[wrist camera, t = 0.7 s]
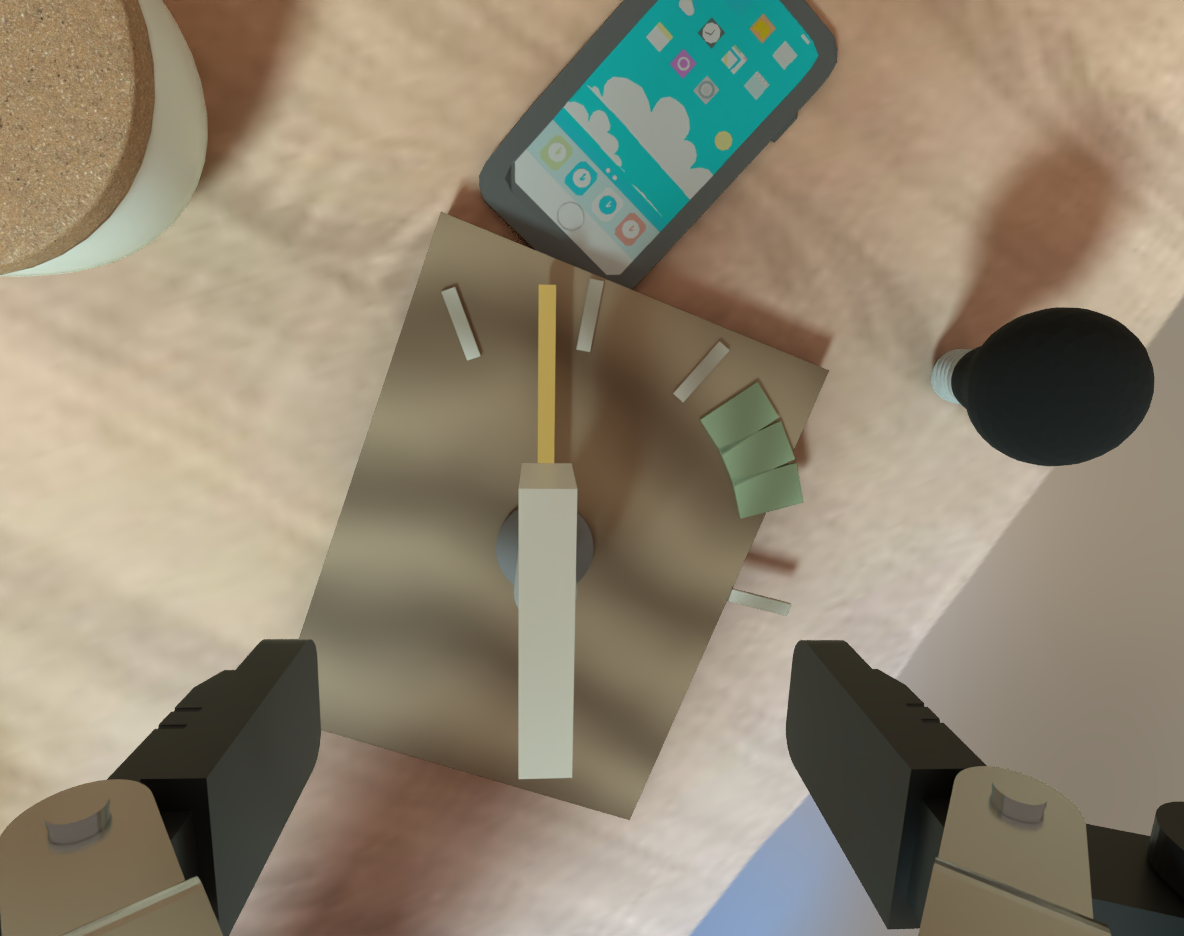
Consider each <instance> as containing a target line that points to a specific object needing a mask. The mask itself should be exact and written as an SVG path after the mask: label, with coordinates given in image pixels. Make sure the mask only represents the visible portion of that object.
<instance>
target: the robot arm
mask: <svg viewBox="0 0 1184 936" xmlns="http://www.w3.org/2000/svg"><path fill="white" fill-rule="evenodd" d="M320 737H321V720H320V700H319V680H318V660H317V650H316V645H315V643H314V641H313V640H311V639H264V640H262V641H261V642H260V643H259V644H258V645H257V646H256V647H255V648H254V649H253V651H252V652H251V653H250V654H249V655H248V656H247V657H246V659H245V660H244V661H243V662H242V663H241V664H240V665H239V667H238V668H237V669H236V670H224V671H222V672H220V673H219V674H217V675H215V676H213V677H212V678H210V679H208V680H206V681H205V682H203V683H201V684H199V685H198V686H196V687H194V688H193V689H192V690H191V691H190V692H189V693H188V695H187V696H186V697H185V698H184V699H183V700H182V701H181V702H180V703H179V704H178V705H177V706H176V707H175V711H174V712H170V714H169V715H168V716H167V717H166V718H165V719H164V720H163V721H162V722H161V723H160V724H159V728H158V729H154V730H153V731H152V733H151V734H150V735H149V736H148V737H147V738H146V739H145V740H144V741H143V742H142V743H141V744H140V745H139V746H138V747H137V748H136V749H135V750H134V752H133V753H132V754H131V755H130V756H129V757H128V758H127V759H126V760H125V761H124V762H123V763H122V764H121V765H120V766H119V767H118V768H117V769H116V771H115V772H114V773H113V774H112V775H111V776H110V777H109V778H108V779H107V780H102V781H96V782H91V783H86V784H83V785H79V786H76V787H72V788H70V789H67V790H64V791H61V792H59V793H57V794H54V795H52V796H50V797H48V798H46V799H44V800H42V801H40V802H39V803H37V804H35V805H33V806H32V807H30V808H29V809H27V810H26V811H24V812H23V813H22V814H20V815H19V816H18V817H17V818H15V819H14V820H13V821H12V822H11V823H10V824H9V825H8V826H7V827H6V829H5V830H4V832H3V833H2V834H1V836H0V936H229V934H230V932H231V930H232V928H233V926H234V924H235V922H236V920H237V919H238V917H239V915H240V913H241V911H242V909H243V907H244V905H245V903H246V901H247V899H248V897H249V895H250V893H251V891H252V889H253V887H254V885H255V883H256V881H257V879H258V877H259V875H260V873H261V871H262V869H263V867H264V865H265V863H266V861H267V859H268V857H269V855H270V853H271V852H272V850H273V848H274V846H275V844H276V842H277V840H278V838H279V836H280V834H281V832H282V830H283V828H284V826H285V824H286V822H287V820H288V818H289V816H290V814H291V812H292V810H293V808H294V806H295V804H296V802H297V800H298V798H299V796H300V794H301V792H302V790H303V788H304V787H305V785H306V783H307V781H308V779H309V777H310V775H311V773H312V771H313V768H314V766H315V763H316V760H317V756H318V752H319V746H320ZM786 738H787V745H788V750H789V754H790V757H791V760H792V762H793V764H794V766H795V768H796V770H797V771H798V773H799V775H800V777H801V778H802V780H803V782H804V784H805V785H806V787H807V789H808V791H809V792H810V794H811V796H812V797H813V799H814V801H815V803H816V805H817V806H818V808H819V810H820V812H821V813H822V815H823V817H824V819H825V820H826V822H827V824H828V826H829V827H830V829H831V831H832V833H833V834H834V836H835V838H836V840H837V841H838V843H839V845H840V847H841V848H842V850H843V852H844V854H845V855H846V857H847V859H848V861H849V862H850V864H851V866H852V868H853V869H854V871H855V873H856V875H857V876H858V878H859V880H860V882H861V883H862V885H863V887H864V888H865V890H866V892H867V894H868V896H869V897H870V899H871V901H872V903H873V904H874V906H875V908H876V909H877V911H878V913H879V915H880V916H881V918H882V920H883V922H884V923H885V925H886V927H887V929H913V928H920V930H919V935H918V936H1184V802H1170V803H1166V804H1163V805H1161V806H1160V807H1159V808H1158V809H1157V811H1156V815H1155V820H1154V824H1153V828H1152V833H1151V836H1146V835H1141V834H1136V833H1130V832H1125V831H1120V830H1115V829H1110V828H1104V827H1099V826H1094V825H1090V824H1086V823H1085V819H1084V817H1083V815H1082V813H1081V812H1080V810H1079V809H1078V808H1077V807H1076V805H1075V804H1074V803H1073V802H1071V801H1070V800H1069V799H1068V798H1067V797H1066V796H1064V795H1063V794H1062V793H1061V792H1059V791H1057V790H1056V789H1054V788H1053V787H1051V786H1049V785H1047V784H1046V783H1044V782H1042V781H1040V780H1038V779H1035V778H1033V777H1031V776H1028V775H1025V774H1022V773H1020V772H1016V771H1012V770H1009V769H1004V768H999V767H991V766H986V765H985V764H984V763H983V762H982V761H981V760H980V759H979V758H978V757H977V756H976V755H975V754H974V753H973V752H972V751H971V750H970V749H969V748H968V747H967V746H966V745H965V744H964V743H963V742H962V741H961V740H960V739H959V738H958V737H957V736H956V735H955V734H954V733H953V732H952V731H951V730H950V729H949V728H948V727H947V726H946V725H945V724H944V723H940V720H939V718H938V717H937V716H936V715H935V714H934V713H933V712H932V711H931V710H930V709H929V708H928V707H924V703H923V702H922V701H921V700H920V699H919V698H918V697H917V696H916V695H915V694H914V693H913V692H912V691H911V690H910V689H909V688H908V687H907V686H906V685H905V684H903V683H901V682H899V681H898V680H896V679H894V678H892V677H891V676H889V675H887V674H885V673H883V672H882V671H880V670H878V669H872V668H871V667H870V666H869V665H868V664H867V663H866V662H865V661H864V660H863V659H862V658H861V657H860V656H859V655H858V654H857V653H856V652H855V650H854V649H853V648H852V647H851V646H850V645H849V644H848V643H847V642H845V641H843V640H801V641H799V642H798V643H797V644H796V646H795V649H794V653H793V661H792V671H791V681H790V690H789V700H788V710H787V720H786Z"/></svg>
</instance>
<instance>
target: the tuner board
mask: <svg viewBox="0 0 1184 936" xmlns="http://www.w3.org/2000/svg"><path fill="white" fill-rule="evenodd" d="M539 285H556V344H555V436H554V463H572V467H573V472H574V476H575V481H576V485H577V537H576V583H577V592H578V593H577V600H576V603H575V649H574V705H573V760H572V778H547V779H518V678H519V609H518V607H517V605H516V602H515V599H514V586H515V576H516V566H517V556H518V547H519V482H520V474H521V467H522V463H538V318H539ZM828 372H829V370H827V369H824V368H822V367H819V366H817V365H814V364H812V363H809V362H807V361H805V360H802V359H800V358H797V357H795V356H792V355H790V354H787V353H785V352H783V351H780V350H778V349H775V348H773V347H770V346H768V345H765V344H763V343H761V342H758V341H756V340H753V339H751V338H748V337H746V336H743V335H741V334H739V333H736V332H734V331H731V330H729V329H726V328H724V327H722V326H719V325H717V324H714V323H712V322H709V321H707V320H704V319H702V318H700V317H697V316H695V315H692V314H690V313H687V312H685V311H682V310H680V309H678V308H675V307H673V306H670V305H668V304H665V303H663V302H660V301H658V300H656V299H653V298H651V297H648V296H646V295H643V294H641V293H638V292H636V291H634V290H631V289H629V288H626V287H624V286H621V285H619V284H616V283H614V282H612V281H609V280H607V279H604V278H602V277H599V276H597V275H594V274H592V273H590V272H587V271H585V270H582V269H580V268H577V267H575V266H572V265H570V264H568V263H565V262H563V261H560V260H558V259H555V258H553V257H550V256H548V255H546V254H543V253H541V252H538V251H536V250H533V249H531V248H528V247H526V246H524V245H521V244H519V243H516V242H514V241H511V240H509V239H507V238H504V237H502V236H499V235H497V234H494V233H492V232H489V231H487V230H485V229H482V228H480V227H477V226H475V225H472V224H470V223H467V222H465V221H463V220H460V219H458V218H455V217H453V216H450V215H448V214H445V213H443V212H441V213H440V216H439V219H438V222H437V225H436V228H435V231H434V234H433V237H432V240H431V243H430V246H429V249H428V252H427V255H426V258H425V261H424V264H423V267H422V270H421V273H420V276H419V279H418V282H417V285H416V288H415V291H414V294H413V297H412V300H411V303H410V306H409V310H408V313H407V316H406V319H405V322H404V325H403V328H402V331H401V334H400V337H399V340H398V343H397V346H396V349H395V352H394V355H393V358H392V361H391V364H390V367H389V370H388V373H387V376H386V379H385V382H384V385H383V388H382V391H381V394H380V397H379V400H378V403H377V406H376V409H375V412H374V415H373V418H372V421H371V424H370V427H369V430H368V433H367V436H366V439H365V442H364V445H363V448H362V451H361V454H360V457H359V460H358V463H357V466H356V469H355V472H354V475H353V478H352V481H351V484H350V487H349V490H348V493H347V496H346V499H345V502H344V505H343V508H342V511H341V514H340V517H339V520H338V523H337V526H336V529H335V532H334V535H333V538H332V541H331V544H330V547H329V550H328V553H327V556H326V559H325V562H324V565H323V568H322V571H321V574H320V577H319V580H318V583H317V586H316V589H315V592H314V595H313V598H312V601H311V604H310V607H309V610H308V613H307V616H306V619H305V622H304V625H303V628H302V631H301V634H300V637H299V639H311V640H313V641H314V643H315V645H316V650H317V660H318V680H319V700H320V720H321V730H323V731H327V732H330V733H334V734H337V735H340V736H344V737H347V738H351V739H354V740H358V741H361V742H364V743H368V744H371V745H375V746H378V747H382V748H385V749H388V750H392V751H395V752H399V753H402V754H405V755H409V756H412V757H416V758H419V759H423V760H426V761H429V762H433V763H436V764H440V765H443V766H446V767H450V768H453V769H457V770H460V771H464V772H467V773H470V774H474V775H477V776H481V777H484V778H487V779H491V780H494V781H498V782H501V783H505V784H508V785H511V786H515V787H518V788H522V789H525V790H528V791H532V792H535V793H539V794H542V795H546V796H549V797H552V798H556V799H559V800H563V801H566V802H569V803H573V804H576V805H580V806H583V807H587V808H590V809H593V810H597V811H600V812H604V813H607V814H611V815H614V816H617V817H621V818H624V819H628V820H630V818H631V816H632V813H633V811H634V809H635V807H636V804H637V802H638V800H639V798H640V795H641V793H642V791H643V789H644V786H645V784H646V782H647V780H648V777H649V775H650V773H651V771H652V768H653V766H654V764H655V762H656V759H657V757H658V755H659V753H660V750H661V748H662V746H663V744H664V741H665V739H666V737H667V735H668V732H669V730H670V728H671V726H672V723H673V721H674V719H675V717H676V714H677V712H678V710H679V707H680V705H681V703H682V701H683V698H684V696H685V694H686V692H687V689H688V687H689V685H690V683H691V680H692V678H693V676H694V674H695V671H696V669H697V667H698V665H699V662H700V660H701V658H702V656H703V653H704V651H705V649H706V647H707V644H708V642H709V640H710V638H711V635H712V633H713V631H714V629H715V626H716V624H717V622H718V620H719V617H720V615H721V613H722V611H723V608H724V606H725V604H726V602H727V600H728V601H729V602H733V603H737V604H741V605H745V606H749V607H753V608H757V609H761V610H765V611H769V612H773V613H777V614H781V615H785V616H787V615H788V613H789V610H790V607H791V604H790V603H788V602H784V601H780V600H776V599H772V598H768V597H764V596H761V595H757V594H753V593H749V592H745V591H741V590H737V589H733V586H734V584H735V581H736V579H737V577H738V575H739V572H740V570H741V568H742V566H743V563H744V561H745V559H746V557H747V554H748V552H749V550H750V548H751V545H752V543H753V541H754V539H755V536H756V534H757V532H758V530H759V527H760V525H761V523H762V521H763V518H764V516H765V514H766V512H769V511H772V510H776V509H780V508H784V507H788V506H792V505H796V504H800V503H803V496H802V491H801V485H800V480H799V475H798V469H797V464H796V463H795V462H794V463H790V464H788V462H790V461H792V460H794V459H795V457H794V455H793V451H794V449H795V446H796V444H797V442H798V440H799V437H800V435H801V433H802V431H803V428H804V426H805V424H806V421H807V419H808V417H809V415H810V412H811V410H812V408H813V406H814V403H815V401H816V399H817V397H818V394H819V392H820V390H821V388H822V385H823V383H824V381H825V379H826V376H827V374H828Z"/></svg>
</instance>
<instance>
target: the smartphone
mask: <svg viewBox="0 0 1184 936" xmlns="http://www.w3.org/2000/svg"><path fill="white" fill-rule="evenodd" d="M836 63H837V47H836V42H835V38H834V35H833V34H832V33H831V32H830V30H829V29H828V28H827V27H826V26H825V24H824V23H823V22H822V21H821V20H820V18H819V17H818V16H817V15H816V13H815V12H814V11H813V10H812V9H811V7H810V6H809V5H808V4H807V3H806V1H805V0H624V1H623V2H622V3H621V4H620V6H619V7H618V8H617V9H616V10H615V11H614V12H613V14H612V15H611V16H610V17H609V18H608V19H607V20H606V22H605V23H604V24H603V25H602V26H601V27H600V28H599V30H598V31H597V32H596V33H595V34H594V35H593V36H592V38H591V39H590V40H589V41H588V42H587V43H586V44H585V45H584V47H583V48H582V49H581V50H580V51H579V52H578V53H577V55H576V56H575V57H574V58H573V59H572V60H571V61H570V63H569V64H568V65H567V66H566V67H565V68H564V69H563V71H562V72H561V73H560V74H559V75H558V76H557V77H556V79H555V80H554V81H553V82H552V83H551V84H550V85H549V87H548V88H547V89H546V90H545V91H544V92H543V93H542V95H541V96H540V97H539V98H538V99H537V100H536V101H535V103H534V104H533V105H532V106H531V107H530V108H529V109H528V111H527V112H526V113H525V114H524V115H523V117H522V118H521V119H520V120H519V122H518V123H517V124H516V125H515V126H514V128H513V129H512V130H511V131H510V133H509V134H508V135H507V136H506V138H505V139H504V140H503V141H502V143H501V144H500V145H499V146H498V148H497V149H496V150H495V151H494V153H493V154H492V155H491V157H490V158H489V159H488V160H487V162H486V163H485V165H484V167H483V169H482V171H481V173H480V175H479V179H480V190H481V193H482V196H483V199H484V201H485V202H486V203H487V204H488V205H489V206H490V207H491V208H492V209H493V210H494V211H495V212H496V213H497V214H498V215H499V216H500V217H501V218H502V219H503V220H504V221H505V222H506V223H507V224H508V225H509V226H510V227H511V228H512V229H513V230H514V231H515V232H516V233H518V234H519V235H520V236H521V237H522V238H523V239H524V240H525V241H526V242H527V243H528V244H529V245H530V246H531V247H532V248H533V249H534V250H536V251H538V252H541V253H543V254H546V255H548V256H550V257H553V258H555V259H558V260H560V261H563V262H565V263H568V264H570V265H572V266H575V267H577V268H580V269H582V270H585V271H587V272H590V273H592V274H594V275H597V276H599V277H602V278H604V279H607V280H609V281H612V282H614V283H616V284H619V285H621V286H624V287H626V288H629V289H631V290H632V289H633V288H634V287H635V286H636V285H637V284H638V283H639V282H640V281H641V280H642V279H643V278H644V277H645V275H646V274H647V273H648V272H649V271H650V270H651V269H652V268H653V267H654V266H655V265H656V264H657V263H658V261H659V260H660V259H661V258H662V257H663V256H664V255H665V254H666V253H667V252H668V251H669V250H670V249H671V247H672V246H673V245H674V244H675V243H676V242H677V241H678V240H679V239H680V238H681V237H682V236H683V235H684V233H685V232H686V231H687V230H688V229H689V228H690V227H691V226H692V225H693V224H694V223H695V222H696V220H697V219H698V218H699V217H700V216H701V215H702V214H703V213H704V212H705V211H706V210H707V209H708V208H709V206H710V205H711V204H712V203H713V202H714V201H715V200H716V199H717V198H718V197H719V196H720V195H721V194H722V192H723V191H724V190H725V189H726V188H727V187H728V186H729V185H730V184H731V183H732V182H733V181H734V180H735V178H736V177H737V176H738V175H739V174H740V173H741V172H742V171H743V170H744V169H745V168H746V167H747V165H748V164H749V163H750V162H751V161H752V160H753V159H754V158H755V157H756V156H757V155H758V154H759V153H760V151H761V150H762V149H763V148H764V147H765V146H766V145H767V144H768V143H769V142H770V141H771V140H772V141H773V142H774V143H775V141H776V140H777V139H778V138H779V137H780V136H781V135H782V134H783V133H784V132H785V131H786V130H787V129H788V127H789V126H790V125H791V124H792V123H793V122H794V121H795V120H796V119H797V115H796V113H797V112H798V111H799V109H800V108H801V107H802V106H803V105H804V104H805V103H806V102H807V101H808V100H809V99H810V98H811V96H812V95H813V94H814V93H815V92H816V91H817V90H818V89H819V88H820V86H821V85H822V84H823V83H824V81H825V80H826V79H827V78H828V77H829V75H830V73H831V72H832V70H833V68H834V66H835V65H836Z"/></svg>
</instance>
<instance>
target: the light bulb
mask: <svg viewBox="0 0 1184 936" xmlns="http://www.w3.org/2000/svg"><path fill="white" fill-rule="evenodd" d="M931 383H932V387H933V389H934V391H935V393H936V394H937V395H938V396H939V397H940V398H942V399H944V400H945V401H948V402H951V403H956V404H961V405H962V406H963V407H965V408H966V409H967V412H968V415H969V418H970V420H971V422H972V424H973V425H974V427H975V429H976V430H977V432H978V433H979V434H980V435H981V436H982V438H983V439H984V440H986V441H987V442H988V443H989V444H990V445H991V446H992V447H993V448H995V449H997V450H998V451H1000V452H1002V453H1003V454H1005V455H1007V456H1009V457H1011V458H1013V459H1016V460H1018V461H1022V462H1026V463H1030V464H1035V465H1042V466H1062V465H1072V464H1078V463H1082V462H1085V461H1088V460H1091V459H1094V458H1096V457H1099V456H1101V455H1103V454H1105V453H1107V452H1109V451H1110V450H1112V449H1114V448H1116V447H1117V446H1119V445H1120V444H1121V443H1122V442H1123V441H1124V440H1125V439H1126V438H1128V437H1129V436H1130V435H1131V434H1132V433H1133V432H1134V431H1135V430H1136V428H1137V427H1138V426H1139V424H1140V423H1141V422H1142V420H1143V419H1144V417H1145V415H1146V413H1147V411H1148V409H1149V407H1150V403H1151V400H1152V396H1153V393H1154V373H1153V367H1152V363H1151V361H1150V359H1149V356H1148V353H1147V351H1146V348H1145V347H1144V345H1143V344H1142V343H1141V341H1140V340H1139V339H1138V338H1137V337H1136V336H1135V335H1134V334H1133V333H1132V332H1131V331H1130V330H1129V329H1128V328H1126V327H1125V326H1124V325H1123V324H1121V323H1120V322H1118V321H1117V320H1115V319H1113V318H1111V317H1109V316H1106V315H1103V314H1101V313H1098V312H1095V311H1091V310H1088V309H1081V308H1050V309H1044V310H1040V311H1036V312H1033V313H1029V314H1025V315H1023V316H1021V317H1018V318H1016V319H1014V320H1012V321H1011V322H1009V323H1007V324H1006V325H1004V326H1003V327H1001V328H1000V329H998V330H997V331H996V332H994V333H993V334H992V335H991V336H990V337H989V338H988V339H987V340H986V341H985V343H984V344H983V345H982V346H980V347H978V348H975V349H954V350H951V351H949V352H947V353H946V354H944V355H943V356H942V357H941V358H940V359H939V360H938V361H937V362H936V364H935V366H934V368H933V370H932V374H931Z"/></svg>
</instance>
